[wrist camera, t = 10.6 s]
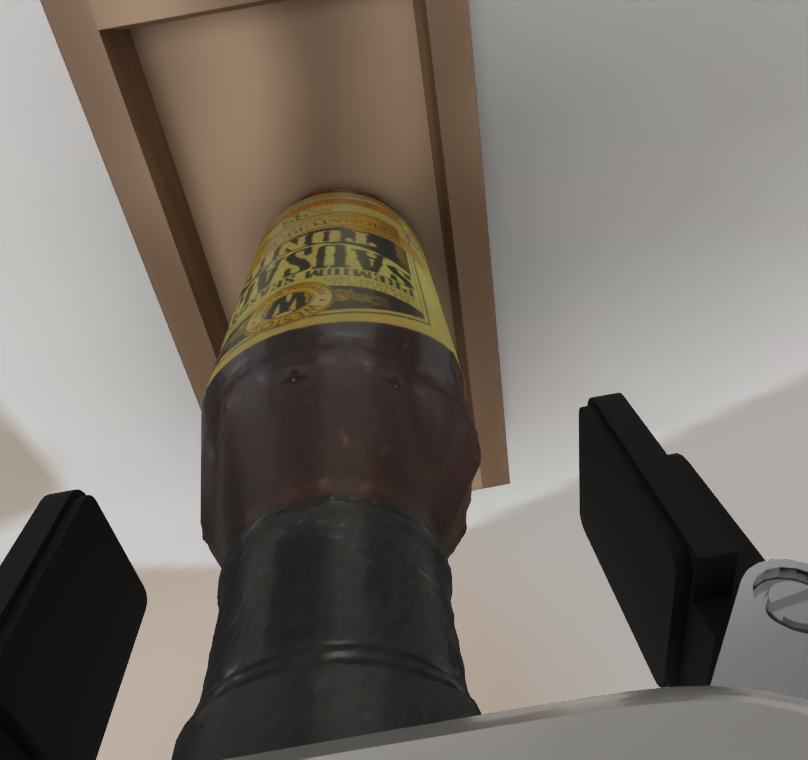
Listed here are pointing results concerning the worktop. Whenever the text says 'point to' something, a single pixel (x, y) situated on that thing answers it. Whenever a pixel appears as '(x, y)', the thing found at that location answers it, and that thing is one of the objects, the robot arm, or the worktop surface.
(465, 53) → the bottle tray
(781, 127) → the worktop surface
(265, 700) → the sauce bottle
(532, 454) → the worktop surface
